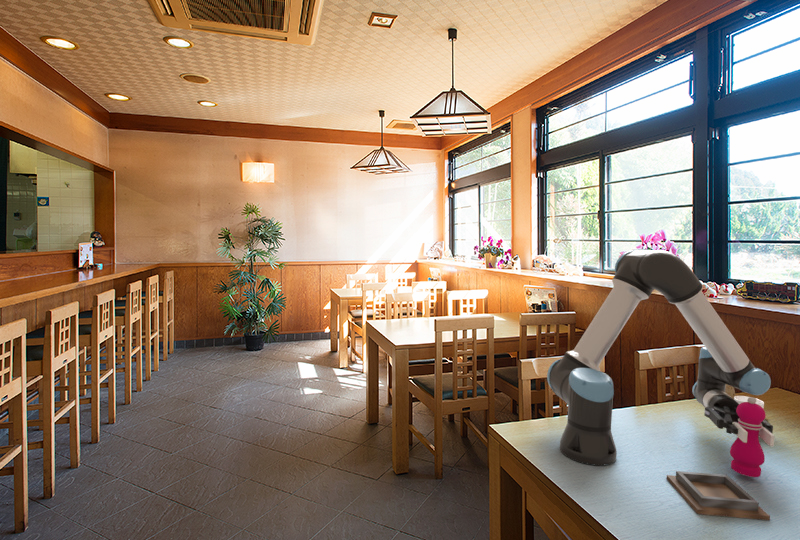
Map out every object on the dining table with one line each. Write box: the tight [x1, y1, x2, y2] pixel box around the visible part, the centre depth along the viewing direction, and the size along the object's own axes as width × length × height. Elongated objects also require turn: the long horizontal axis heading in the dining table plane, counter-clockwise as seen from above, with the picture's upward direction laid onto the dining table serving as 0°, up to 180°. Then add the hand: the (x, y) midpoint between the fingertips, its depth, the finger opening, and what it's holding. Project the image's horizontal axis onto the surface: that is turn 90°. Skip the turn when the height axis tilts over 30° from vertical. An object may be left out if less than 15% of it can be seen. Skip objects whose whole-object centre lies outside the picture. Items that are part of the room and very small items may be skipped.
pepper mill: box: [729, 396, 767, 478], centre depth 117 cm, size 7×7×20 cm
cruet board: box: [666, 470, 771, 521], centre depth 108 cm, size 15×15×3 cm
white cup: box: [734, 395, 765, 409], centre depth 148 cm, size 8×8×10 cm
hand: (758, 439), depth 112 cm, fingers closed on pepper mill, 5 cm apart
